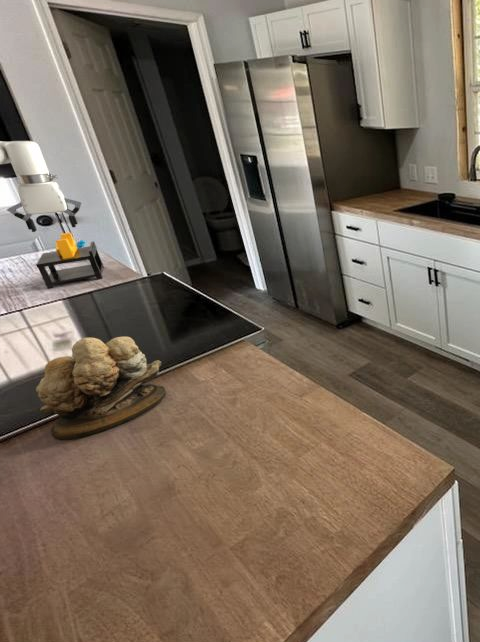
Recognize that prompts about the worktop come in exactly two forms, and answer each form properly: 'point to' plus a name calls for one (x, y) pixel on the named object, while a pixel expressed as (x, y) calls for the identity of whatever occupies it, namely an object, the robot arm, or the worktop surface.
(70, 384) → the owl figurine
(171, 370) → the worktop surface
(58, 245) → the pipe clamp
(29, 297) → the worktop surface
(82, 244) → the gear
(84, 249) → the rack
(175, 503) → the worktop surface
